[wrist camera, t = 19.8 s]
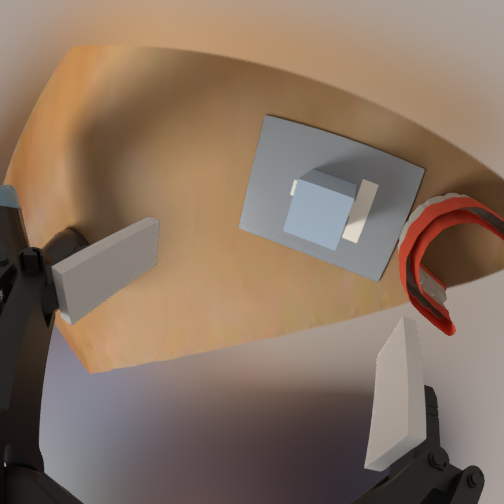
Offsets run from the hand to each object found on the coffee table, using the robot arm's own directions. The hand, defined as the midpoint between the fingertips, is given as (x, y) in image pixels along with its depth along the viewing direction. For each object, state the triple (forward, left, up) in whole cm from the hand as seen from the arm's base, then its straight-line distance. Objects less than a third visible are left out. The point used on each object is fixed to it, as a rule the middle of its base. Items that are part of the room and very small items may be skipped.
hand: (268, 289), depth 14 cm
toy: (+14, +1, -20) cm, 24 cm away
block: (0, 0, -20) cm, 20 cm away
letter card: (0, 0, -20) cm, 20 cm away
